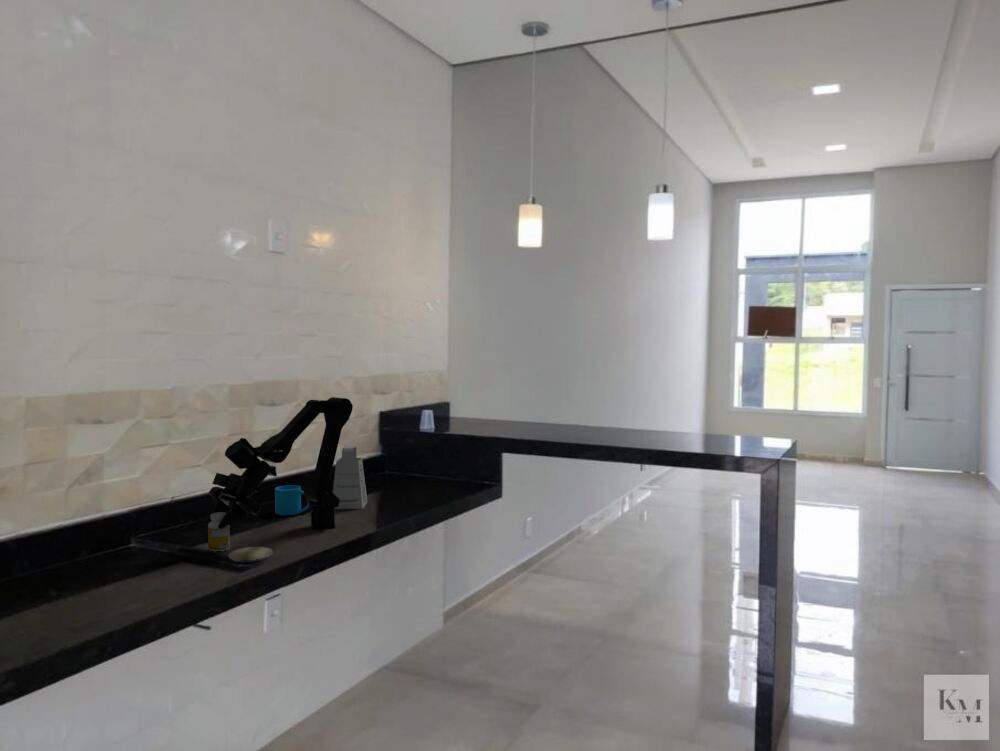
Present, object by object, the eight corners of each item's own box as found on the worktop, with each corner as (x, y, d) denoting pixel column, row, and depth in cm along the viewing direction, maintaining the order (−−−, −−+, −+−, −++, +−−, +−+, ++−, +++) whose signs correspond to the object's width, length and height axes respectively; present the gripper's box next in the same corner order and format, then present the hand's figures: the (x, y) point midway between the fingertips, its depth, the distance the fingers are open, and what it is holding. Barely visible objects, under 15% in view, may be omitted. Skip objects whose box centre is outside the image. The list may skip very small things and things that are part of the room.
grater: (367, 501, 254) (367, 444, 253) (362, 508, 243) (362, 449, 242) (337, 502, 253) (336, 444, 252) (331, 509, 243) (330, 449, 242)
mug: (270, 514, 235) (270, 489, 234) (283, 509, 243) (282, 484, 242) (304, 516, 232) (304, 491, 232) (316, 510, 240) (316, 486, 240)
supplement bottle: (212, 547, 198) (211, 511, 197) (232, 546, 198) (231, 511, 198) (205, 552, 192) (205, 516, 192) (226, 552, 193) (226, 516, 192)
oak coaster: (274, 549, 196) (274, 545, 195) (270, 561, 185) (270, 557, 185) (231, 551, 193) (231, 548, 193) (225, 564, 182) (225, 560, 182)
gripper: (214, 457, 203) (176, 503, 196) (249, 465, 191) (210, 514, 183) (241, 481, 210) (204, 526, 202) (276, 490, 197) (239, 539, 189)
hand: (213, 526), depth 194 cm, fingers closed on supplement bottle, 5 cm apart
